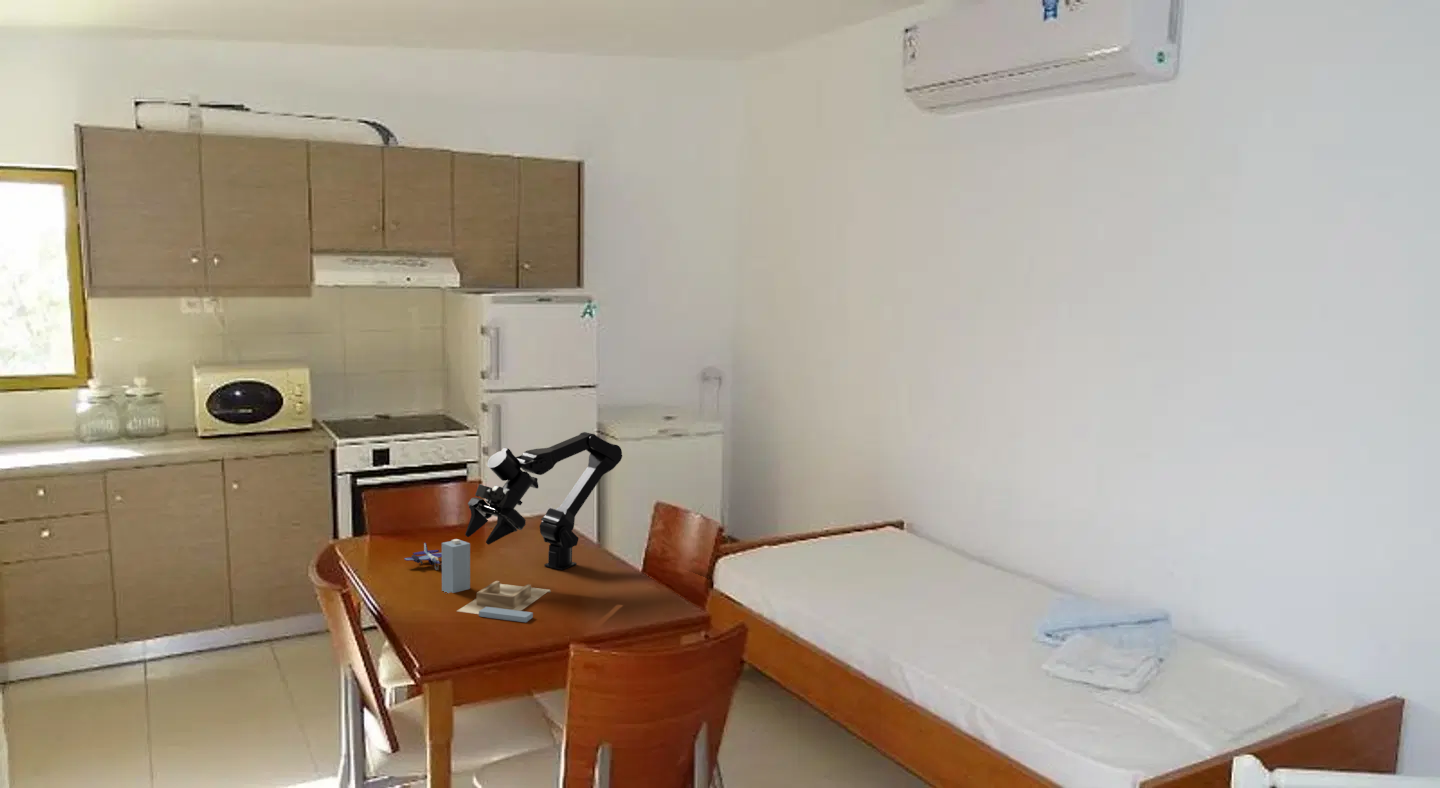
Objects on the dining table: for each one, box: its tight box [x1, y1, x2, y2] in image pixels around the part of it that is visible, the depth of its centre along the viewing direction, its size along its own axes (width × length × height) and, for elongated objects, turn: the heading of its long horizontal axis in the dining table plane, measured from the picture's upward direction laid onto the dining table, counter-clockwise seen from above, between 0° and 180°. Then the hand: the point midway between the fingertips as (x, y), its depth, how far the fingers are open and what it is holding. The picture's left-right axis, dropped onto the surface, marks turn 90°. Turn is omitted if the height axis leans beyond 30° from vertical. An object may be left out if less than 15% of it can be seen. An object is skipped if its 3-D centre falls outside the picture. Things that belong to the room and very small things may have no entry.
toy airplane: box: [404, 542, 442, 571], centre depth 280 cm, size 13×14×4 cm
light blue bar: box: [478, 607, 534, 623], centre depth 240 cm, size 12×4×1 cm, turn 75°
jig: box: [456, 580, 551, 615], centre depth 252 cm, size 22×14×4 cm, turn 165°
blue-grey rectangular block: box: [441, 538, 471, 594], centre depth 259 cm, size 5×5×13 cm
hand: (476, 539), depth 263 cm, fingers open, 9 cm apart
